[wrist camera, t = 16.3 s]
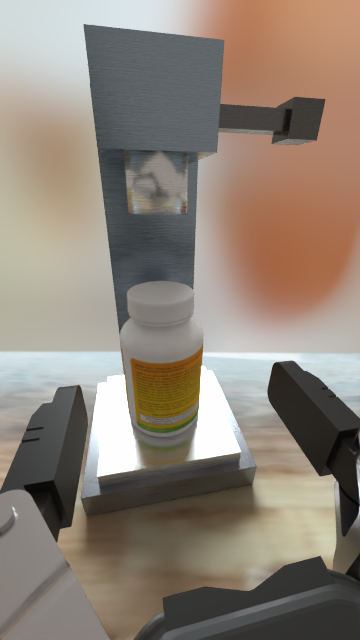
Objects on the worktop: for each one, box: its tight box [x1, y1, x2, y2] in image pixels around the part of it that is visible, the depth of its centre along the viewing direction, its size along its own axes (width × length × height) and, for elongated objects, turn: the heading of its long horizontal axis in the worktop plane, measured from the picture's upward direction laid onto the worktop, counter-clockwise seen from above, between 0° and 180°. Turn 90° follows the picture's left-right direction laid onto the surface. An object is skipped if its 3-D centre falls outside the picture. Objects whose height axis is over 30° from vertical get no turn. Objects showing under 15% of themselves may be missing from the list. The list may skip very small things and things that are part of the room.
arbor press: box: [81, 24, 325, 516], centre depth 16 cm, size 15×11×23 cm
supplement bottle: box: [120, 281, 203, 437], centre depth 17 cm, size 5×5×10 cm
